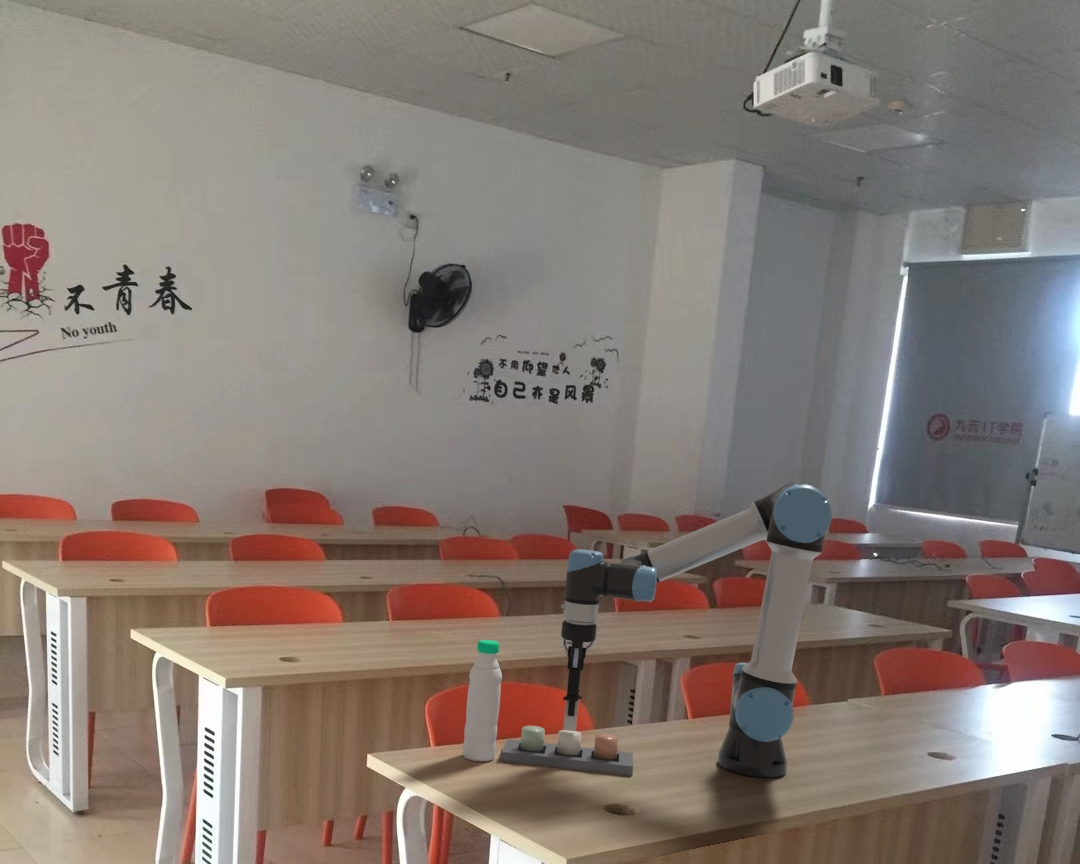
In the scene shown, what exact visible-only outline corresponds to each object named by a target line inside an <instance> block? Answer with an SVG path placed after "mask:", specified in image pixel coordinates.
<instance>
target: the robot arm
mask: <svg viewBox="0 0 1080 864" xmlns="http://www.w3.org/2000/svg"><path fill="white" fill-rule="evenodd" d="M832 518H833V512H832V507H831V503H830V501H829V499H828V498H827V496H826V495H825V494H824V492H822V491H821V490H820V489H818V488H817V487H816V486H813V485H809V484H807V483H799V482H793V483H792V482H791V483H788V484H784V485H782V486H781V487H780V488H778V489H776V490H775V491H772V492H771V493H769V494H767V495H766V496H763V497H762V498H759V499H758V500H755V501H752V502H751V504H750V507H749V508H747V509H744V510H742V511H740V512H737V513H735V514H733V515H730V516H729V517H726V518H723V519H720V520H719V521H716V522H713V523H710V524H709V525H706V526H704V527H702V528H699V529H696V530H695V531H692V532H690V533H687V534H685V535H683V536H680V537H678V538H675V539H673V540H671V541H668V542H664V543H663V544H661V545H659V546H656V547H654V548H651V549H649V550H647V551H645V552H642V553H639V554H637V555H635V556H629V557H626V558H625V559H622V560H621V562H619V563H616V562H609V561H605V560H604V554H603V553H602V551H597V550H592V549H591V550H590V549H574V550H571V551H570V552H569V555H568V563H567V568H566V579H565V589H564V590H565V592H564V593H565V594H564V603H563V604H561V606H560V608H561V609H564V610H563V613H562V614H563V615H562V617H563V619H564V620H563V621H562V623H561V624H562V625H561V633H560V635H561V638H562V639H564V640H565V641H571V642H572V643H571V645H568V648H567V655H566V656H567V657H568V658H567V666H566V667H567V669H568V678H567V689H566V696H563V697H562V699H563V701H565V707H564V718H563V729H562V730H569V731H577V721H578V720H577V719H578V710H579V703H580V702H579V700H582V699H583V698H582V697H583V695H581V694H580V693H581V692H580V685H581V675H582V671H583V670H584V666H585V658H586V655H587V647H584V643H593V642H595V641H596V639H597V624H596V623H597V622H598V619H599V608H600V597H603V598H604V597H605V598H615V599H621V600H631V601H636V602H649V603H650V602H653V601H654V600H655V597H656V589H657V584H658V583H660V582H663V581H665V580H667V579H669V578H672V577H674V576H677V575H679V574H682V573H684V572H687V571H689V570H690V571H691V570H692V569H694V568H697V567H700V566H702V565H704V564H707V563H709V562H711V561H714V560H716V559H719V558H721V557H723V556H724V557H725V556H726V555H728V554H731V553H733V552H737V551H739V550H741V549H743V548H745V547H746V548H747V547H748V546H750V545H753V544H756V543H758V542H761V541H766V544H767V545H768V547H769V548H770V551H771V553H770V554H771V555H770V558H769V564H768V570H767V575H766V579H765V580H766V581H765V585H764V590H763V596H762V600H761V601H762V602H761V606H760V612H759V617H758V623H757V627H756V632H755V638H754V643H753V648H752V653H751V660H750V661H749V662H739V663H736V664H735V665H734V668H733V673H732V678H733V679H732V687H731V688H732V690H731V700H730V712H729V722H728V729H727V733H726V734H725V737H724V740H723V741H722V744H721V746H720V748H719V751H718V757H717V758H718V759H717V763H718V765H719V766H721V767H722V768H724V769H725V770H726V771H727V770H728V771H730V772H733V773H735V774H740V775H744V776H748V777H755V778H778V777H782V776H785V775H786V774H787V770H788V769H787V767H788V760H787V757H786V751H785V747H784V742H783V737H784V736H785V735H786V734H787V733H788V732H789V730H790V729H791V727H792V726H793V725H792V724H793V722H794V717H795V715H794V712H795V710H794V706H793V704H794V700H795V695H796V689H797V684H798V683H797V682H798V679H797V678H796V676H795V674H794V672H793V671H792V670H793V669H792V668H793V663H794V661H795V660H794V659H795V654H796V648H797V644H798V637H799V633H800V628H801V622H802V616H803V613H804V607H805V603H806V602H805V601H806V597H807V591H808V586H809V581H810V575H811V571H812V564H813V560H814V559H815V558H818V556H820V555H821V554H822V553H823V547H824V541H825V539H826V538H825V537H826V533H827V531H828V530H829V529H830V526H831V523H832Z"/></svg>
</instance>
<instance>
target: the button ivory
mask: <svg viewBox="0 0 1080 864" xmlns="http://www.w3.org/2000/svg"><path fill="white" fill-rule="evenodd" d="M557 744H558V745H557V751H558V752H559V753H562V754H566V755H577V754H579V753H580V747H582V746H581V744H582V732H580V731H579V730H578V731H577V730H576V731H569V730H563V729H560V730H559V731H558V736H557Z"/></svg>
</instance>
